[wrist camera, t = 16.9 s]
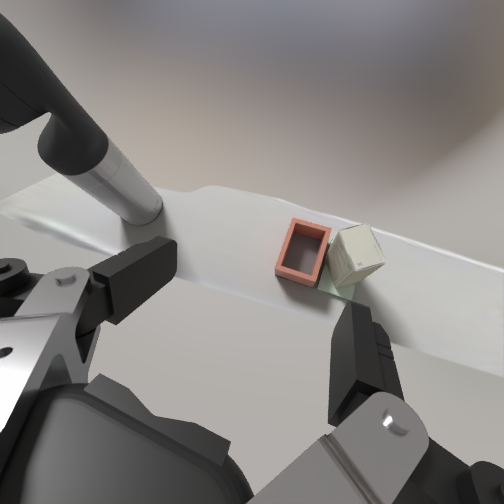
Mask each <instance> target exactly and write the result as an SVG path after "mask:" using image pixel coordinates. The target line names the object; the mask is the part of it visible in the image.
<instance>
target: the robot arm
mask: <svg viewBox="0 0 504 504" xmlns="http://www.w3.org/2000/svg"><path fill="white" fill-rule="evenodd" d="M47 112H50V113H52V115H51V117H50V120H49V122H48V123H47V125H46V127H45V128H44V129H43V131H42V133H41V135H40V137H39V140H38V152H39V155H40V157H41V159H42V160H43V161H44V162H45V163H46V164H48V165H49V166H50V167H52V168H53V169H54V170H56V171H57V172H58V173H60V174H61V175H63V176H64V177H65V178H67V179H68V180H70V181H71V182H72V183H74V184H75V185H77V186H78V187H80V188H81V189H82V190H84V191H85V192H87V193H88V194H89V195H91V196H92V197H94V198H95V199H96V200H98V201H99V202H101V203H102V204H103V205H105V206H106V207H108V208H109V209H110V210H112V211H113V212H115V213H116V214H117V215H119V216H120V217H121V218H123V219H124V220H126V221H127V222H129V223H130V224H133V225H144V224H147V223H149V222H151V221H152V220H154V219H155V218H156V217H157V216H158V214H159V213H160V211H161V208H162V199H161V197H160V195H159V194H158V193H157V191H156V190H155V189H154V188H153V187H152V186H151V185H150V183H149V182H148V181H147V180H146V179H145V178H144V177H143V176H142V174H141V173H140V172H139V171H138V170H137V169H136V168H135V167H134V165H133V164H132V163H131V162H130V161H129V160H128V159H127V157H126V156H125V155H124V154H123V153H122V152H121V151H120V149H119V148H118V147H117V146H116V145H115V144H114V143H113V142H112V141H111V139H110V138H109V137H108V136H107V135H106V134H105V133H104V132H103V130H102V129H101V128H100V127H99V126H98V125H97V124H96V123H95V121H93V119H92V118H91V117H90V116H89V115H88V113H87V112H86V111H85V110H84V109H83V108H82V106H81V105H80V104H79V103H78V102H77V101H76V100H75V98H74V97H73V96H72V95H71V94H70V92H69V91H68V90H67V89H66V88H65V86H64V85H63V84H62V83H61V82H60V80H59V79H58V78H57V76H56V75H55V74H54V73H53V71H52V70H51V69H50V68H49V66H48V65H47V64H46V63H45V61H44V60H43V59H42V58H41V56H40V55H39V54H38V53H37V52H36V50H35V49H34V48H33V47H32V46H31V44H30V43H29V42H28V41H27V40H26V38H25V37H24V36H23V35H22V34H21V33H20V32H19V31H18V30H17V29H16V28H15V27H14V26H13V25H12V24H11V22H9V21H8V20H7V19H6V18H5V17H4V16H3V15H2V14H1V13H0V134H3V133H7V132H11V131H13V130H15V129H18V128H19V127H21V126H23V125H25V124H27V123H29V122H30V121H32V120H34V119H36V118H38V117H40V116H42V115H43V114H45V113H47ZM176 270H177V243H176V241H175V240H172V239H169V238H166V237H163V236H158V237H156V238H154V239H152V240H150V241H148V242H145V243H141V244H137V245H134V246H132V247H130V248H128V249H126V251H122V252H120V253H118V255H114V256H112V257H110V258H108V259H106V260H104V261H102V262H100V263H98V264H96V265H94V266H92V267H91V268H89V269H87V270H86V269H83V268H80V267H66V268H60V269H57V270H54V271H51V272H49V273H47V274H46V275H44V274H36V273H29V270H28V268H27V265H26V263H25V261H23V260H20V259H15V258H4V259H0V504H504V469H502V468H501V467H499V466H497V465H495V464H492V463H490V462H486V461H479V462H476V463H474V464H473V465H471V466H470V467H469V466H468V465H467V464H465V463H464V462H462V461H461V460H460V459H458V458H457V457H455V456H454V455H453V454H451V453H450V452H448V451H447V450H446V449H444V448H443V447H442V446H440V445H439V444H437V443H436V442H435V441H434V440H432V439H431V438H430V437H429V436H428V433H427V431H426V428H425V426H424V424H423V422H422V421H421V419H420V417H419V416H418V415H417V413H416V412H415V411H414V410H413V409H412V408H411V407H410V406H409V405H408V404H407V403H406V402H405V401H404V397H403V393H402V388H401V385H400V381H399V377H398V372H397V369H396V365H395V361H394V357H393V352H392V351H391V344H390V340H389V336H388V335H387V333H386V332H385V331H384V329H383V328H382V326H381V325H380V324H378V323H375V322H372V317H371V311H370V308H369V307H368V306H365V305H362V304H359V303H356V302H353V301H350V300H349V301H348V302H347V304H346V306H345V308H344V310H343V312H342V314H341V316H340V318H339V320H338V322H337V324H336V326H335V329H334V332H333V335H332V340H331V359H330V361H331V362H330V384H329V407H328V408H329V409H328V424H330V425H332V426H335V427H337V428H336V429H334V431H332V432H331V433H330V434H329V435H326V434H325V435H323V436H322V437H320V438H319V439H318V440H317V441H316V442H314V443H313V444H312V445H311V446H310V447H309V448H308V449H307V450H305V451H304V452H303V453H302V454H301V455H300V456H299V457H298V458H297V459H296V460H294V461H293V462H292V463H291V464H290V465H289V466H288V467H286V469H284V470H283V471H282V472H281V473H280V474H279V475H278V476H276V477H275V478H274V479H273V480H272V481H271V482H270V483H269V484H267V485H266V486H265V487H264V488H263V489H262V490H261V491H260V492H259V493H257V494H256V495H255V496H254V494H253V492H252V490H251V488H250V485H249V483H248V481H247V479H246V478H245V476H244V474H243V472H242V471H241V470H240V468H239V467H238V465H237V464H236V463H235V461H234V460H233V459H232V458H231V457H230V456H229V455H228V450H229V447H230V443H231V442H230V441H228V440H227V439H225V438H223V437H221V436H219V435H217V434H215V433H213V432H211V431H209V430H207V429H206V428H204V427H202V426H199V425H198V424H196V423H192V422H186V421H180V420H175V419H169V418H163V417H157V416H155V415H153V414H152V413H150V411H149V410H148V409H147V408H146V407H145V406H144V405H143V404H142V403H141V401H139V399H138V398H137V397H136V396H135V395H134V394H133V393H132V392H131V391H130V389H128V388H127V387H125V386H123V385H121V384H119V383H117V382H115V381H113V380H111V379H110V378H108V377H106V376H104V375H102V374H99V375H98V376H96V377H95V378H94V379H93V380H92V381H91V382H90V383H88V371H89V367H90V364H91V361H92V357H93V354H94V350H95V347H96V343H97V340H98V337H99V333H100V324H101V323H102V322H103V321H104V320H106V321H108V322H110V323H113V324H115V325H117V324H118V323H120V322H121V321H122V320H123V319H124V318H126V317H127V316H128V315H129V314H131V313H132V312H133V311H134V310H135V309H136V308H138V307H139V306H140V305H142V304H143V303H144V302H145V301H146V300H147V299H149V298H150V297H151V296H152V295H154V294H155V293H156V292H157V291H159V290H160V289H161V288H162V287H163V286H165V285H166V284H167V283H168V282H169V281H171V280H172V279H173V277H174V275H175V273H176Z"/></svg>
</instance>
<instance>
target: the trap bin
mask: <svg viewBox="0 0 504 504" xmlns="http://www.w3.org/2000/svg"><path fill="white" fill-rule="evenodd" d="M331 229H332V228H328V227H325V226H321V225H318V224H314V223H310V222H307V221H303V220H300V219H296V218H292V221H291V224H290V227H289V229H288V232H287V235H286V238H285V241H284V244H283V246H282V249H281V252H280V255H279V258H278V261H277V263H276V266H275V275H276V276H279V277H282V278H285V279H288V280H291V281H294V282H297V283H300V284H303V285H306V286H309V287H312V286H313V285H314V284H315V282H316V279H317V276H318V273H319V269H320V266H321V263H322V259H323V256H324V252H325V249H326V246H327V242H328V239H329V236H330V232H331Z"/></svg>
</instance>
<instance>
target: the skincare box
mask: <svg viewBox="0 0 504 504" xmlns="http://www.w3.org/2000/svg"><path fill="white" fill-rule="evenodd" d="M325 262H326V264H327V267H328V270H329V273H330V276H331V278H332V281H333V284H334V286H335V288H339V287H344V286H348V285H351V284H355V283H358V282H360V281H361V280H363V279H364V278H365V277H367V276H368V275H370V274H371V273H373V272H374V271H376V270H377V269H378V268H380V267H381V266H383V265H384V264H385V263H386V262H387V261H386V259H385V257H384V254H383V252H382V250H381V248H380V245H379V243H378V241H377V239H376V237H375V235H374V233H373V231H372V229H371V227H370V225H369V224H368V223H365V224H361V225H356V226H352V227H348V228H345V229H341V230H339V231H338V233H337V235H336V237H335V239H334V241H333V242H332V244H331V246H330V248H329V250H328V252H327V254H326V256H325Z"/></svg>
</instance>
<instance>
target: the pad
mask: <svg viewBox="0 0 504 504" xmlns="http://www.w3.org/2000/svg"><path fill="white" fill-rule="evenodd" d="M333 241H334V239H332V240H331V243H330V246H331V244H332V242H333ZM329 248H330V247H329ZM355 286H356V283H355V284H351V285H348V286H344V287H339V288H335V286H334V284H333V281H332V278H331V276H330V273H329V270H328V267H327V264H326V262H325V264H324V267H323V270H322V274H321V277H320V281H319V284H318V287H317V289H318V290H320V291H323V292H326V293H329V294H332V295H335V296H338V297H341V298H344V299H347V300H350V301H351V300H352V298H353V294H354V290H355Z"/></svg>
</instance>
